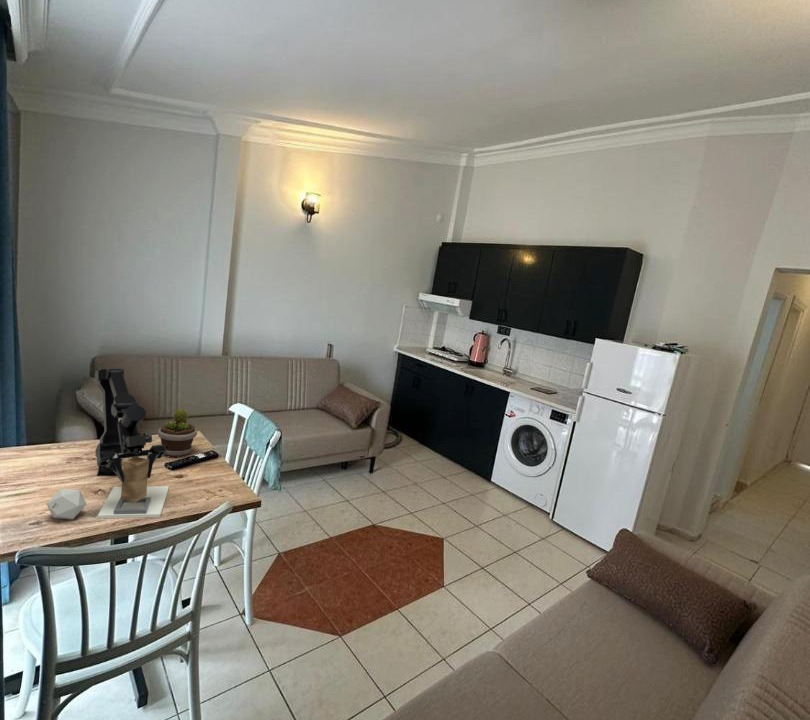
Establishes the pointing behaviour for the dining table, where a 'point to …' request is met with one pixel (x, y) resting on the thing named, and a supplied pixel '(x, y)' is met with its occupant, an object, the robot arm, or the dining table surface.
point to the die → (66, 504)
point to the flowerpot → (177, 435)
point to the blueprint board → (134, 504)
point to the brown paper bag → (134, 479)
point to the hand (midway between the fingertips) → (136, 479)
